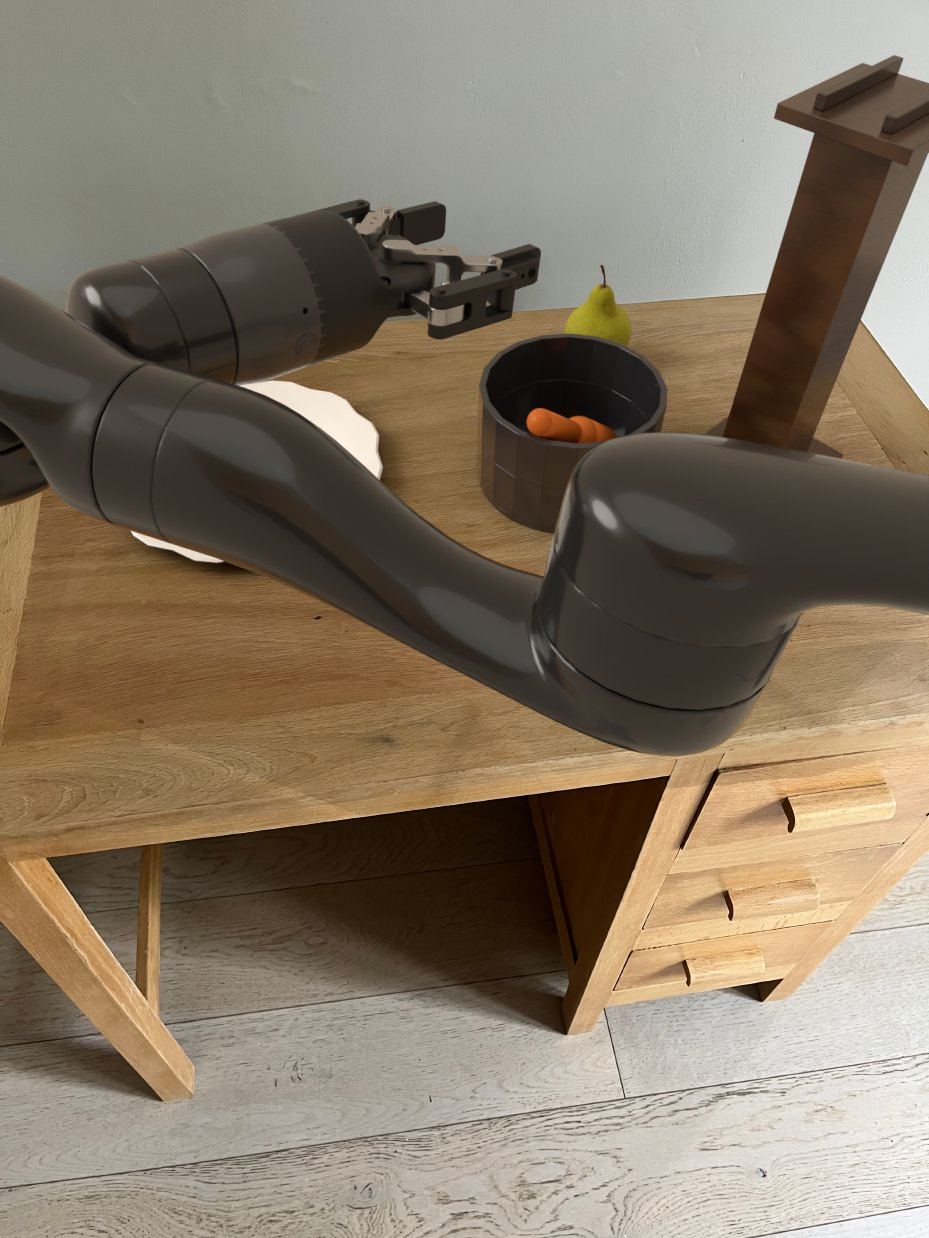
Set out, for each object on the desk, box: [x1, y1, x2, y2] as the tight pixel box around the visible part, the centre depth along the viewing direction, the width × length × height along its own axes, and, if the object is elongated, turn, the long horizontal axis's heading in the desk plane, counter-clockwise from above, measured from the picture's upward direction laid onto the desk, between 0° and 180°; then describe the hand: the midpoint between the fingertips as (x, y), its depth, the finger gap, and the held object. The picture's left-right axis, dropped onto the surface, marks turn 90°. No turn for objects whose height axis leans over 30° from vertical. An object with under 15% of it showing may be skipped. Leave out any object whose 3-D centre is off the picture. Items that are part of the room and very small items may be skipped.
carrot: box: [527, 408, 619, 444], centre depth 76 cm, size 4×16×4 cm
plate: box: [130, 380, 384, 565], centre depth 81 cm, size 25×25×2 cm
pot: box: [476, 333, 669, 534], centre depth 78 cm, size 16×16×10 cm
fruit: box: [563, 264, 633, 347], centre depth 89 cm, size 7×7×12 cm
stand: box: [703, 54, 929, 459], centre depth 70 cm, size 11×11×33 cm
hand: (486, 239), depth 55 cm, fingers open, 8 cm apart
